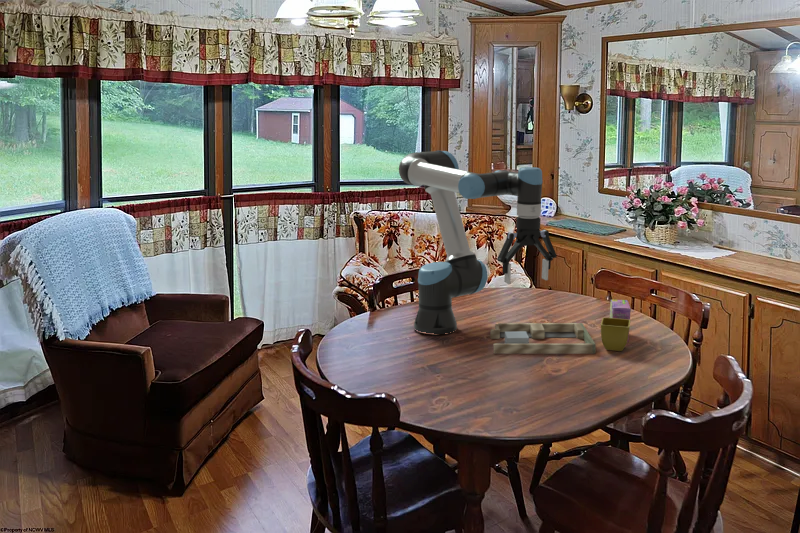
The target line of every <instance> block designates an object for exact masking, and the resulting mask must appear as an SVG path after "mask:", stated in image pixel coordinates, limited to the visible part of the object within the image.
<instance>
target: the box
mask: <svg viewBox="0 0 800 533" xmlns="http://www.w3.org/2000/svg"><path fill="white" fill-rule="evenodd" d="M609 304H610V307H609V318H617V319H628V320H630V321H631V306H630V303H629V300H627V299H610V303H609ZM629 337H630V333H629V334H628V340H627V343H629V339H630V338H629Z"/></svg>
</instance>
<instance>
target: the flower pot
mask: <svg viewBox="0 0 800 533" xmlns="http://www.w3.org/2000/svg"><path fill="white" fill-rule="evenodd" d="M630 326H631V319H630V320H628V319H617V318H610V317H602V319H601V322H600V333H601V336H600V337H601V343H602V346H603V347H604V349H605V350H607V351H614V352H615V351H617V352H623V350H624V349H625V347H626V345H627V343H628V342H627V340H628V334H629V335H630Z"/></svg>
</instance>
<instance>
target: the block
mask: <svg viewBox="0 0 800 533" xmlns="http://www.w3.org/2000/svg"><path fill="white" fill-rule="evenodd" d="M504 344H530V338H529V337H528V335H527V333H526V331H512V332H505V338H504Z"/></svg>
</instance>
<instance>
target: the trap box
mask: <svg viewBox="0 0 800 533" xmlns="http://www.w3.org/2000/svg"><path fill="white" fill-rule="evenodd" d="M494 325H495V327H494V328H495V329H490V339H491V340H492V339H493V340H494V339H495V340H496V339H497V340H499V339H503V338H504V339H505V332H512V331H526V333H527V335H528V337H529V339H534V340H535V339H536V340H539V339H540V340H542V339H543V340H544V339H547V338H548V339H553V338H554V339H559V338H560V339H562V338H563V339H564V338H566V339H567V338H568V339H570V338H572V339H575V338H576V339H577V340H579V339H582V340H583V341H584V342H585V343H529V344H505V343H493V354H494V355H495V354H496V355H497V354H498V355H499V354H501V355H502V354H504V355H505V354H510V355H511V354H512V355H513V354H528V355H529V354H542V355H543V354H546V355H547V354H555V355H556V354H557V355H559V354H560V355H561V354H563V355H565V354H571V355H572V354H574V355H575V354H576V355H577V354H580V355H581V354H582V355H584V354H585V355H586V354H587V355H588V354H596V350H597V349H596V348H597V345H596V343H595V341H594V340H593V338H592V337H591V335H590V333H589V331H588V330H587V328H586V327H585V325H584V323H583V322H579V323H577V322H574V323H573V322H560V323H559V322H558V323H557V322H556V323H555V322H553V323H551V322H549V323H548V322H546V323H545V322H543V323H542V322H540V323H539V322H536V323H535V322H531V323H530V322H528V323H527V322H526V323H525V322H520V323H518V322H516V323H515V322H512V323H511V322H509V323H508V322H507V323H505V322H500V323H499V322H498V323H495V324H494Z"/></svg>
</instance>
